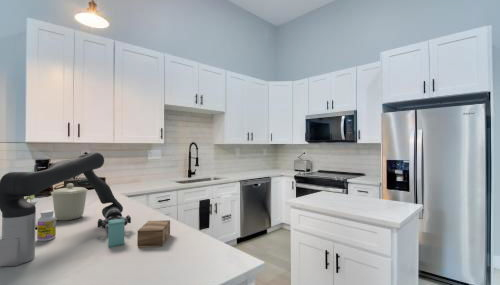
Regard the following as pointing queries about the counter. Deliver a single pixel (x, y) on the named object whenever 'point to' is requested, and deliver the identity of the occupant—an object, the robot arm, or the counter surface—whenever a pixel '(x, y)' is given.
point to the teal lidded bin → (116, 232)
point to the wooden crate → (153, 233)
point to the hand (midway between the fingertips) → (115, 224)
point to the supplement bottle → (46, 226)
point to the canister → (69, 202)
